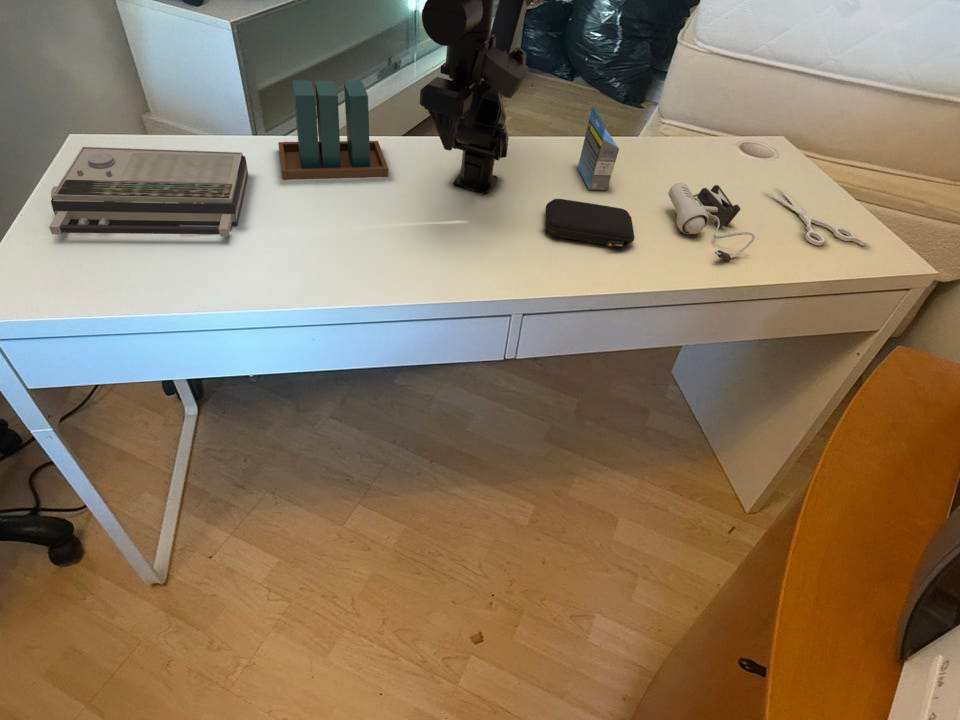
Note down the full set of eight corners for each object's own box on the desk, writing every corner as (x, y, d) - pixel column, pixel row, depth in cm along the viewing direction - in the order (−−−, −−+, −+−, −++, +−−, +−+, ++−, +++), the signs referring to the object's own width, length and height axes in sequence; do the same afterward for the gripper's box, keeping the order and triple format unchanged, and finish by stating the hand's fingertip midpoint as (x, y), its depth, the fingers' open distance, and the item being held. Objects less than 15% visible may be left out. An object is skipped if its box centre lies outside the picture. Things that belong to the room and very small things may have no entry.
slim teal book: (365, 154, 111) (362, 80, 102) (371, 170, 108) (368, 95, 98) (348, 155, 111) (343, 81, 102) (353, 171, 107) (349, 95, 98)
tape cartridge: (608, 191, 114) (627, 126, 105) (588, 190, 113) (605, 125, 105) (595, 168, 120) (612, 105, 111) (576, 167, 119) (591, 104, 111)
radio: (244, 146, 99) (228, 212, 85) (248, 176, 102) (234, 244, 89) (76, 139, 94) (30, 208, 80) (87, 171, 98) (45, 243, 84)
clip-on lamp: (749, 274, 105) (710, 200, 114) (773, 248, 100) (730, 173, 109) (691, 272, 101) (656, 195, 110) (713, 245, 96) (674, 167, 105)
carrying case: (542, 242, 99) (633, 256, 99) (546, 226, 97) (638, 240, 97) (544, 209, 106) (628, 222, 107) (547, 193, 104) (633, 206, 104)
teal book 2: (337, 155, 110) (334, 80, 101) (341, 171, 106) (338, 95, 97) (319, 155, 109) (314, 80, 100) (323, 171, 105) (318, 95, 96)
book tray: (378, 151, 114) (378, 140, 113) (388, 179, 107) (388, 168, 106) (279, 153, 109) (278, 141, 108) (283, 182, 102) (281, 171, 101)
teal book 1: (317, 155, 109) (312, 80, 100) (320, 171, 105) (315, 95, 96) (299, 155, 108) (292, 80, 99) (302, 172, 104) (295, 95, 95)
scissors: (821, 247, 107) (751, 188, 119) (819, 251, 107) (750, 192, 120) (867, 242, 110) (794, 185, 123) (864, 246, 110) (792, 189, 123)
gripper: (506, 59, 74) (489, 177, 85) (545, 22, 87) (526, 128, 98) (421, 38, 76) (415, 157, 87) (471, 5, 89) (461, 111, 100)
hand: (459, 137), depth 93 cm, fingers open, 9 cm apart
